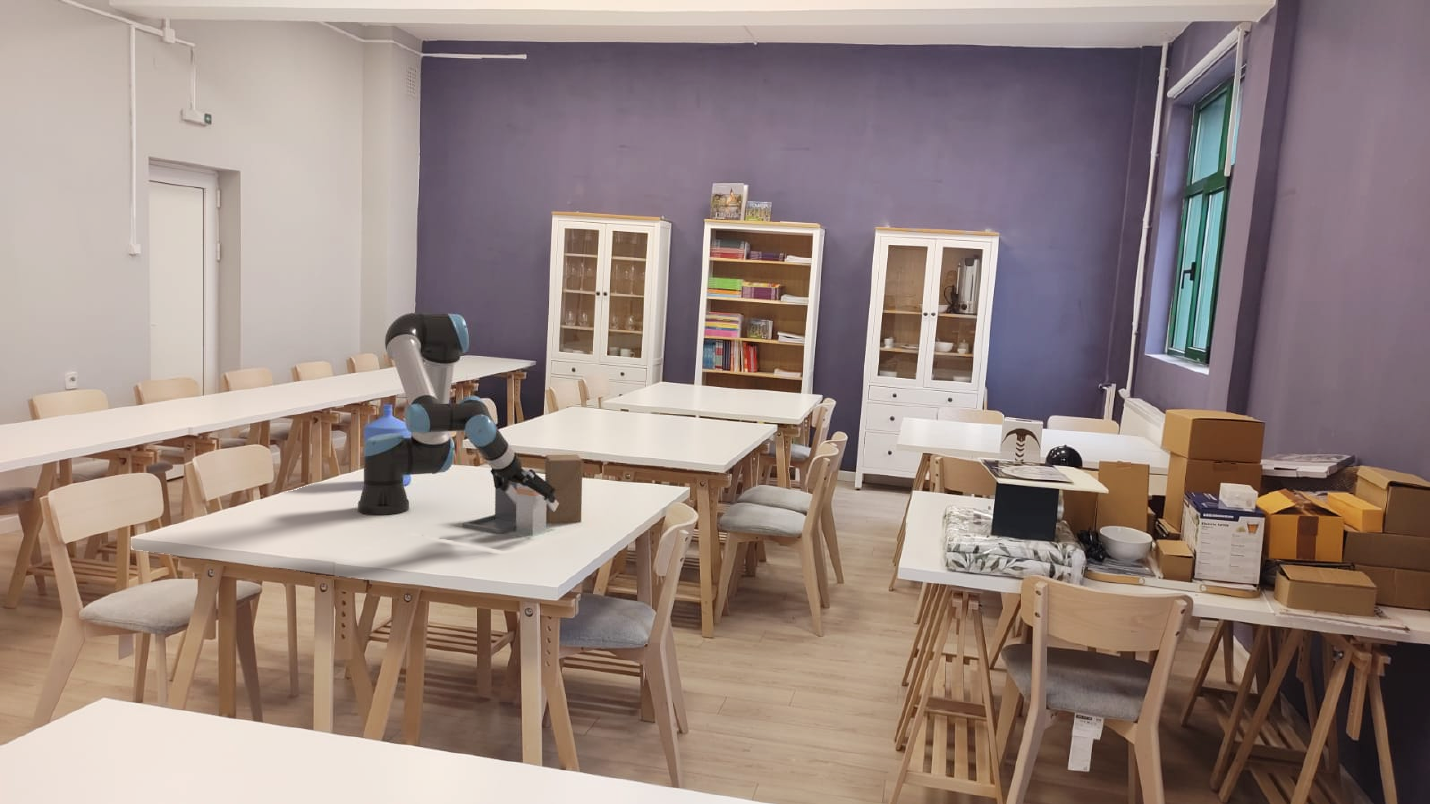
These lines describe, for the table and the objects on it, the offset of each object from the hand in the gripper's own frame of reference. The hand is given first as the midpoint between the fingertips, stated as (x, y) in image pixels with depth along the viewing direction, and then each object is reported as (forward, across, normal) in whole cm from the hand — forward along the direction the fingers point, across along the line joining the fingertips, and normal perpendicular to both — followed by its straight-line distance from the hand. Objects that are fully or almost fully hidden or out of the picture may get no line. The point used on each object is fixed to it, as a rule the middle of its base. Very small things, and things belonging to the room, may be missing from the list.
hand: (536, 504), depth 285 cm
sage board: (+4, 0, -8) cm, 9 cm away
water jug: (+24, -86, +11) cm, 89 cm away
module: (+4, 0, -7) cm, 8 cm away
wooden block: (+17, -2, +5) cm, 18 cm away
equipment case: (+4, -12, -8) cm, 15 cm away
